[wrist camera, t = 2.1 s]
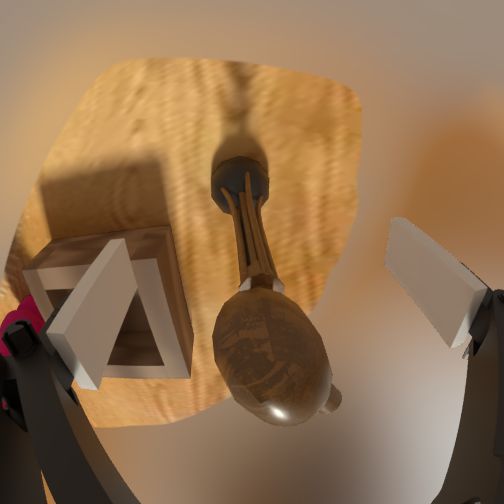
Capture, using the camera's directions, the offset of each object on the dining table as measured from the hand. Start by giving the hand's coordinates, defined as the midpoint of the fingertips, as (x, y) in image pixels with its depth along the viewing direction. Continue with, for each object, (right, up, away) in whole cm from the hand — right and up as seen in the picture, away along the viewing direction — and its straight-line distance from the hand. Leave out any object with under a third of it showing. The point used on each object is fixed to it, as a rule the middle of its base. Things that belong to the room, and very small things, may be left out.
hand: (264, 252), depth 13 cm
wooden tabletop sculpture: (-1, +5, +10) cm, 12 cm away
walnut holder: (-14, -4, +13) cm, 20 cm away
